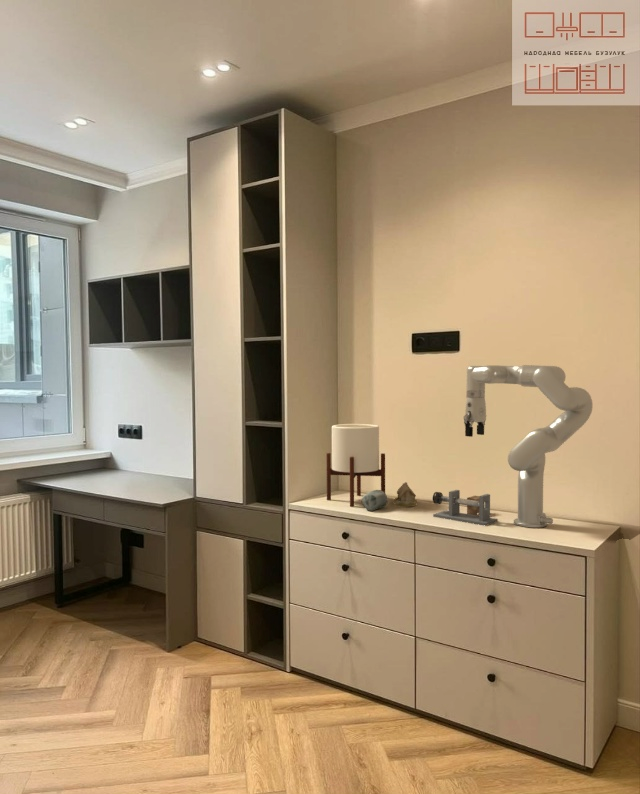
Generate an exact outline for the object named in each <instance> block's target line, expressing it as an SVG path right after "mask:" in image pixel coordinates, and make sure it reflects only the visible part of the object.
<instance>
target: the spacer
mask: <svg viewBox="0 0 640 794" xmlns="http://www.w3.org/2000/svg"><path fill="white" fill-rule="evenodd" d="M479 496H480V495H473V496H468V497H466V499H468V500H474V501H479ZM466 514H471V515H477V516H478V514H479V507H474V506H468V505H466Z"/></svg>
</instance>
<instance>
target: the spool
mask: <svg viewBox="0 0 640 794" xmlns="http://www.w3.org/2000/svg"><path fill="white" fill-rule="evenodd" d="M361 501H362V505H363V507H364V508H365V509H366V510H367V511H369V512H373V511H375V510H377V509H381V508H383V507H386V505H387V504H388V495H387V494H386V492H385V493H384V492H383V491H381V489H375V490H371V491H369V492H367V493H365V494H364V495H363V497H362V499H361Z"/></svg>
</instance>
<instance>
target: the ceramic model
mask: <svg viewBox="0 0 640 794" xmlns="http://www.w3.org/2000/svg"><path fill="white" fill-rule="evenodd" d="M396 494H397V497H396V498H395V499H393V504H395V505H396V506H398V507H401V508H407V507H408V508H409V507H415V506H417V503H418V501H417V499H416V497H417V496H416V494H415V492H414V491H413V490H412V489H411V488H410V486H409V485H408V482H404V483H402V485H401V486H400V487H399V488H398V489H397V491H396Z"/></svg>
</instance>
